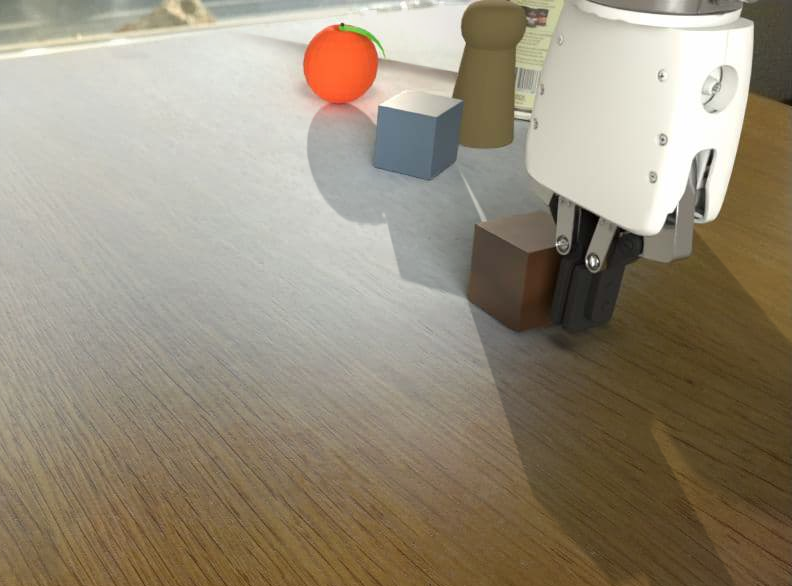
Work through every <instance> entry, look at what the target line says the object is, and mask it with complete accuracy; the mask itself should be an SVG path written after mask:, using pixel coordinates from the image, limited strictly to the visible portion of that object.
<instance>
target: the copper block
mask: <svg viewBox="0 0 792 586" xmlns="http://www.w3.org/2000/svg"><path fill="white" fill-rule="evenodd" d="M555 236H556V225H555V222H554V219H553V217H552V214H551V212H548V211H546V210H544V209H539V210H535V211H530V212H525V213H521V214H515V215H511V216H506V217H502V218H501V217H500V218H496V219H492V220H487V221H481V222H477V223H475V224H474V231H473V240H472V241H473V242H472V248H471V257H470V258H471V259H470V260H471V261H470V269H469V279H468V289H467V298H466V299H467V301H468V302H471V304H473V305H475V306H477V308H479V309H481V310H483V311H484V312H486V313H487V314H489V316H492V317H493V318H494V319H496V320H498V321H500V323H502V324H504V325H505V326H507V327H508V328H510V329H511V330H513V331H514V332H516V333H521V332H524V331H525V332H526V331H529V330H532V329H536V328H540V327H544V326H548V325H552V324H555V323H554V322H552V321H551V320H550V318H549V316H550V311H551V307H552V302H553V298H554V293H555V288H556V284H557V279H558V274H559V270H560V265H561V260H562V258H563V255H561V254H559V252H558V251H557V249H556V247H555Z"/></svg>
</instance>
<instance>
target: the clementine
mask: <svg viewBox="0 0 792 586" xmlns="http://www.w3.org/2000/svg"><path fill="white" fill-rule="evenodd" d="M375 44H376V45H377V46H378V48H379V49H380V51H381V52H382V55H383V57H384V60H385V61H387V58H386V54H385V50H384V48H383V45H382V44H381V43H380V40H379V39H377V37H375V35H374V34H372V33H371V32H370V31H368V30H367V29H364V28H361V27H359V26H355V25H351V24H347V23H346V24H345V22H340V23H339V24H331V25H328V26H325V28H323V29H321V30H320V31H319V32H317V33H316V34H315V35H314V36H313V38H311V40H310V41H309V43H308V45H307V47H306V49H305V52H304V56H303V62H302V68H303V69H302V70H303V75H304V78H305V81H306V83H307V85H308V87H309V88H310V89H311V91H312V92H313V94H315V95H316V96H317V97H318V98H320V99H322V100H323V101H325V102H329V103H332V104H339V105H340V104H347V103H351V102H354V101H356V100H358V99H360V98H361V97H362V96H364V95H365V94H366V93H367V92H368V91H369V90H370V89H371V88H372V86H373V84H374V82H375V80H376V78H377V73H378V69H379V53H378V51H377V48H376V45H375Z"/></svg>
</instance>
